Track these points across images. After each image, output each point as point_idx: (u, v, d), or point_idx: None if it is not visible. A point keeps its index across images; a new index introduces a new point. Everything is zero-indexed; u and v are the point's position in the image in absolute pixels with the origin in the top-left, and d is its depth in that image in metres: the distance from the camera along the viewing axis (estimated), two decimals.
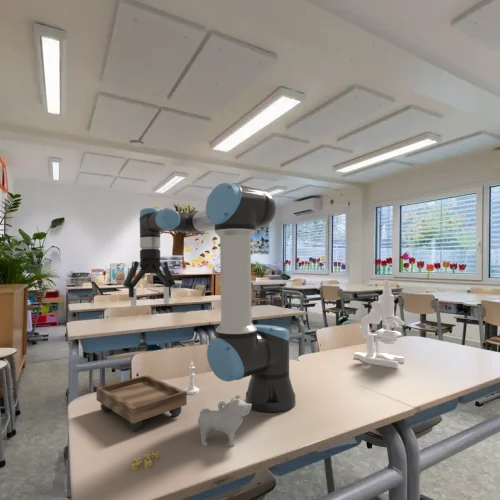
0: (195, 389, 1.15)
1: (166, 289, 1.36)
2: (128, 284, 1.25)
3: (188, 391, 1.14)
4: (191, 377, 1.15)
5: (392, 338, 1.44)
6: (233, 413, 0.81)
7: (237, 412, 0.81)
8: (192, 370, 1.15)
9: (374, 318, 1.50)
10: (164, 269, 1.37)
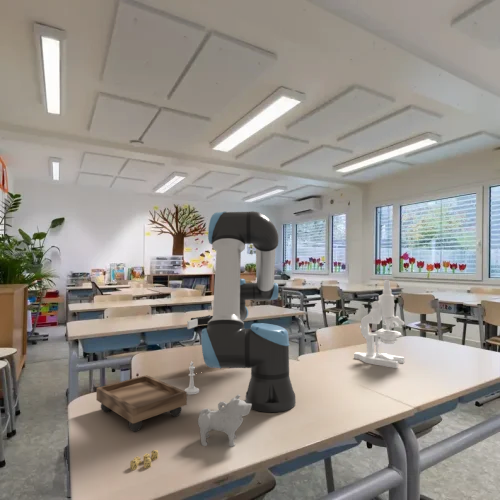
0: (195, 389, 1.15)
1: None
2: (192, 318, 1.36)
3: (188, 391, 1.14)
4: (191, 377, 1.15)
5: (392, 338, 1.44)
6: (233, 413, 0.81)
7: (237, 412, 0.81)
8: (192, 370, 1.15)
9: (374, 318, 1.50)
10: None
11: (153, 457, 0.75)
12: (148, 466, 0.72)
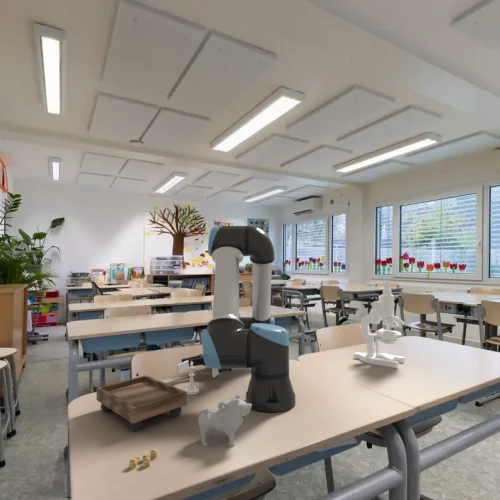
0: (195, 389, 1.15)
1: None
2: None
3: (188, 391, 1.14)
4: (191, 377, 1.15)
5: (392, 338, 1.44)
6: (233, 413, 0.81)
7: (237, 412, 0.81)
8: (192, 370, 1.15)
9: (374, 318, 1.50)
10: None
11: (152, 456, 0.76)
12: (147, 465, 0.72)
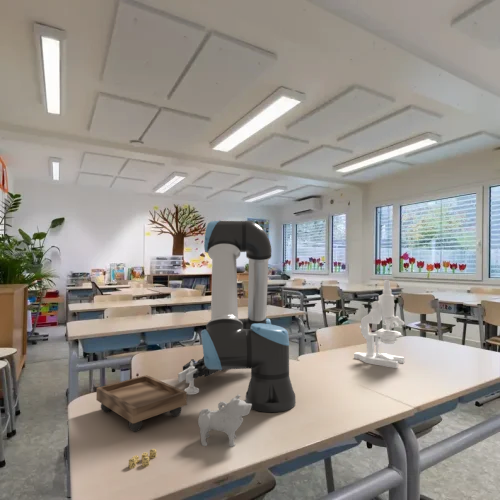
0: (195, 389, 1.15)
1: None
2: (185, 366, 1.20)
3: (188, 391, 1.14)
4: None
5: (392, 338, 1.44)
6: (233, 413, 0.81)
7: (237, 412, 0.81)
8: (192, 370, 1.15)
9: (374, 318, 1.50)
10: None
11: (151, 456, 0.76)
12: (146, 465, 0.73)
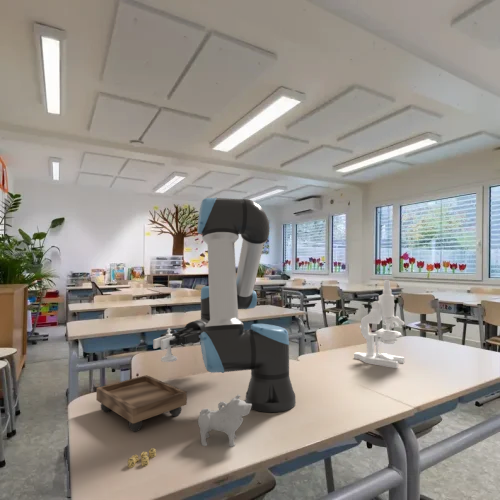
0: (172, 357, 1.10)
1: None
2: (163, 334, 1.15)
3: (165, 359, 1.09)
4: None
5: (392, 338, 1.44)
6: (233, 413, 0.81)
7: (237, 412, 0.81)
8: None
9: (374, 318, 1.50)
10: None
11: (151, 455, 0.76)
12: (145, 464, 0.73)
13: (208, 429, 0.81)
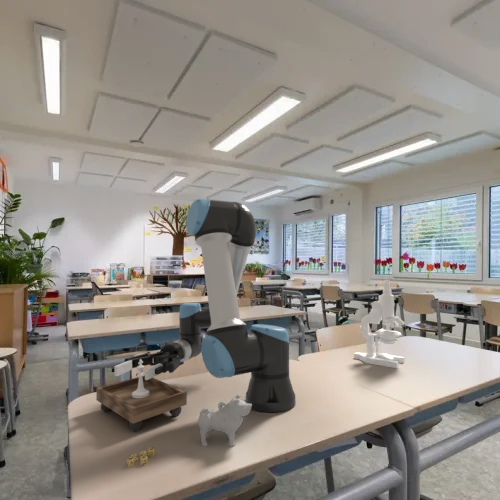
0: (144, 392, 0.99)
1: None
2: (127, 358, 1.06)
3: (136, 394, 0.97)
4: (140, 378, 0.99)
5: (392, 338, 1.44)
6: (233, 413, 0.81)
7: (237, 412, 0.81)
8: (141, 370, 0.99)
9: (374, 318, 1.50)
10: None
11: (150, 454, 0.76)
12: (144, 463, 0.73)
13: (208, 429, 0.81)
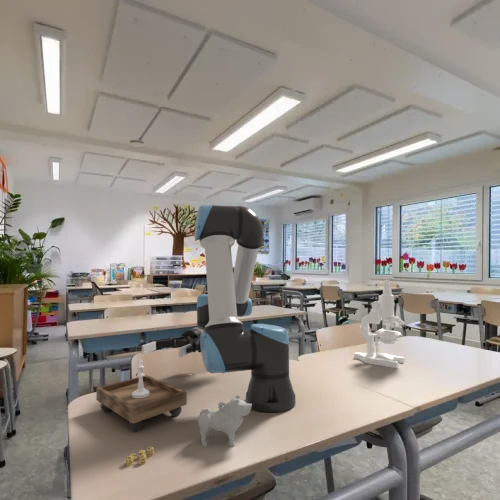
0: (144, 392, 0.99)
1: None
2: (151, 340, 1.20)
3: (136, 394, 0.97)
4: (140, 378, 0.99)
5: (392, 338, 1.44)
6: (233, 413, 0.81)
7: (237, 412, 0.81)
8: (141, 370, 0.99)
9: (374, 318, 1.50)
10: None
11: (148, 453, 0.77)
12: (143, 462, 0.74)
13: (208, 429, 0.81)
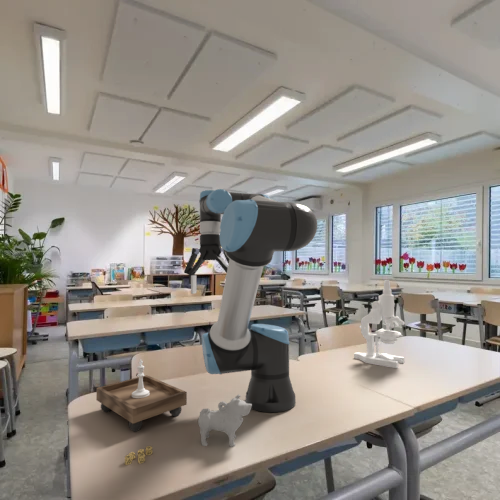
0: (144, 392, 0.99)
1: None
2: (185, 271, 1.26)
3: (136, 394, 0.97)
4: (140, 378, 0.99)
5: (392, 338, 1.44)
6: (233, 413, 0.81)
7: (237, 412, 0.81)
8: (141, 370, 0.99)
9: (374, 318, 1.50)
10: None
11: (147, 453, 0.77)
12: (142, 461, 0.74)
13: (208, 429, 0.81)
